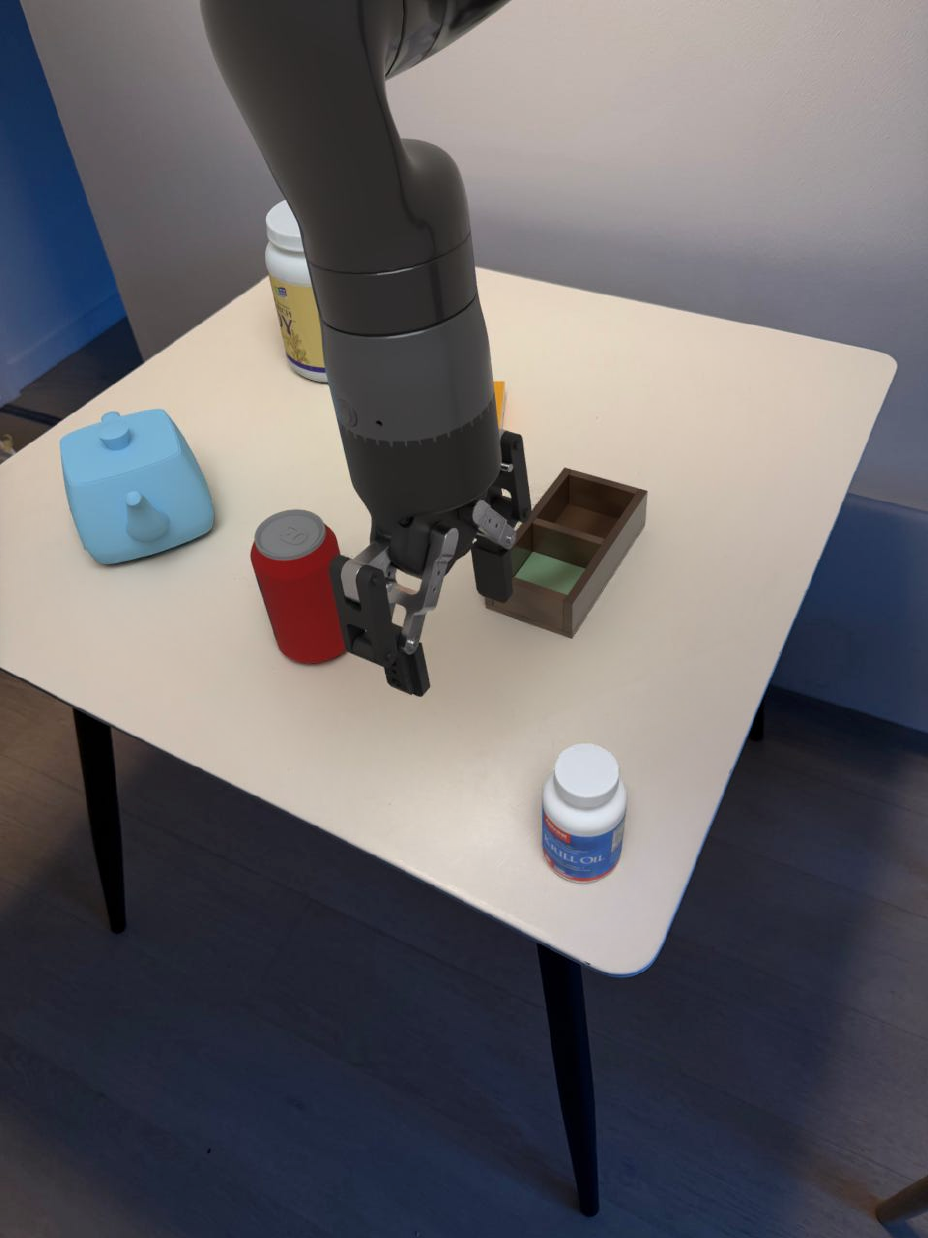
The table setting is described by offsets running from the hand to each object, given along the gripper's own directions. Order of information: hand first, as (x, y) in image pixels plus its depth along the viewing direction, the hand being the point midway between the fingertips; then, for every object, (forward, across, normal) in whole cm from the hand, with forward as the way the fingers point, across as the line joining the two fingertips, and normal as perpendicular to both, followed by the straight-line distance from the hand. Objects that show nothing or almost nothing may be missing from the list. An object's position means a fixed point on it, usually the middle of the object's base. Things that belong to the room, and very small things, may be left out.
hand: (455, 640), depth 57 cm
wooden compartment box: (+17, +26, +8) cm, 32 cm away
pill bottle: (+19, +2, -6) cm, 20 cm away
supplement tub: (+14, +43, +48) cm, 66 cm away
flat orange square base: (+15, +40, +28) cm, 51 cm away
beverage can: (+17, +8, +22) cm, 29 cm away
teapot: (+15, +10, +44) cm, 48 cm away
